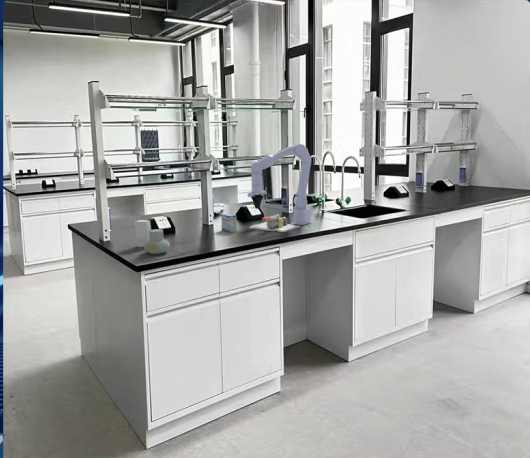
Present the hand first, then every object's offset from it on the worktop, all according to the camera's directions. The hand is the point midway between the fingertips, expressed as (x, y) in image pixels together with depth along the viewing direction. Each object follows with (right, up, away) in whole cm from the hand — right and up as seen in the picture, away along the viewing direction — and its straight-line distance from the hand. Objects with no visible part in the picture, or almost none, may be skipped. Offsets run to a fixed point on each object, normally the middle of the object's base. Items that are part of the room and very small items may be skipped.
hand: (257, 208), depth 267 cm
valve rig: (+9, -11, -7) cm, 16 cm away
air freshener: (-43, -22, -56) cm, 74 cm away
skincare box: (-52, -20, -44) cm, 70 cm away
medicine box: (-15, -13, -12) cm, 23 cm away
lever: (+8, -6, -13) cm, 16 cm away
